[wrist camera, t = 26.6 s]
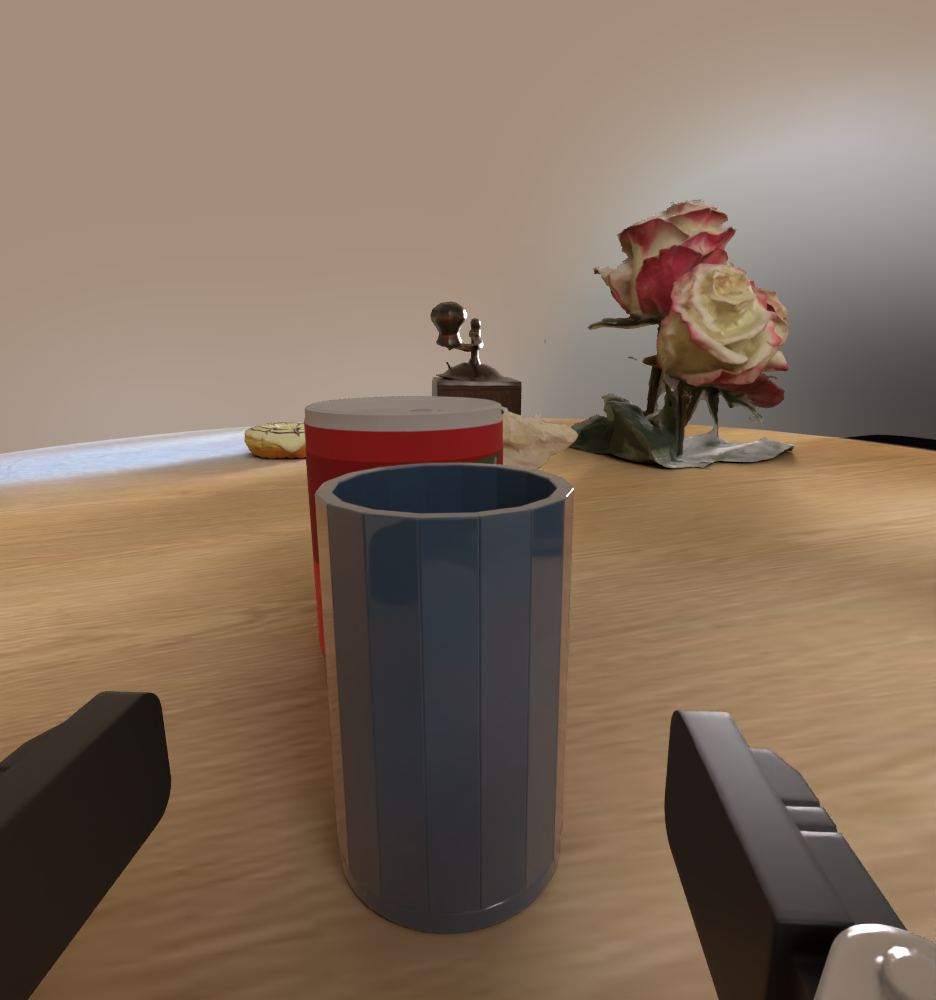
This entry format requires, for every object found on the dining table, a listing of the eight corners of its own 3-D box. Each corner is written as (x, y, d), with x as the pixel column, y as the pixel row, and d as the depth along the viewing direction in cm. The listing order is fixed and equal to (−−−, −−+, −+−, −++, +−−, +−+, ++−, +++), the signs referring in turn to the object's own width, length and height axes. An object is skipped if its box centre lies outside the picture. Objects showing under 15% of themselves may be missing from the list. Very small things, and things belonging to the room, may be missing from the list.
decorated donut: (300, 463, 74) (297, 431, 73) (228, 458, 78) (225, 427, 77) (348, 449, 83) (347, 421, 82) (282, 445, 87) (280, 418, 86)
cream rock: (315, 549, 49) (378, 448, 37) (326, 470, 52) (386, 355, 41) (491, 583, 54) (593, 504, 43) (489, 509, 58) (583, 418, 46)
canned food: (517, 690, 25) (521, 410, 22) (310, 706, 24) (288, 415, 21) (487, 611, 32) (487, 394, 30) (327, 621, 31) (313, 397, 29)
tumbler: (601, 829, 18) (619, 481, 15) (457, 987, 13) (450, 536, 11) (446, 743, 22) (441, 455, 19) (295, 844, 17) (265, 488, 15)
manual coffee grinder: (426, 447, 85) (423, 308, 81) (506, 445, 87) (508, 308, 82) (433, 468, 70) (430, 300, 66) (530, 465, 72) (533, 300, 67)
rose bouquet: (693, 478, 64) (720, 153, 57) (540, 441, 89) (545, 213, 82) (855, 458, 75) (895, 183, 68) (677, 430, 100) (692, 228, 93)
